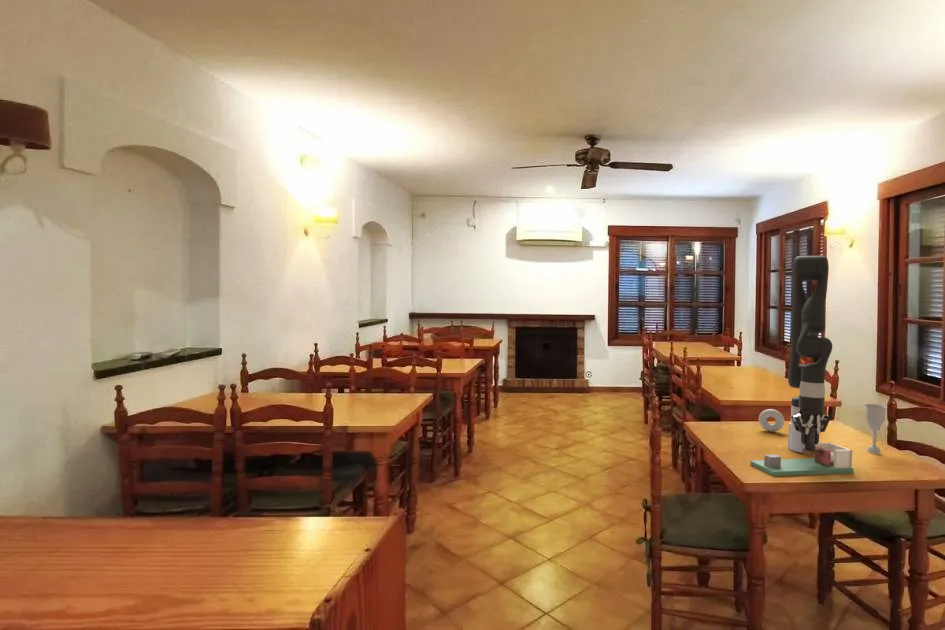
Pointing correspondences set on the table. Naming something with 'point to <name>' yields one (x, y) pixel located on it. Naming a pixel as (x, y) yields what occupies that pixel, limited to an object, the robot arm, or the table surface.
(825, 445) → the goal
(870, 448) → the chalice
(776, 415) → the donut
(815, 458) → the slider rod
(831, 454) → the ball
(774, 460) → the playfield
